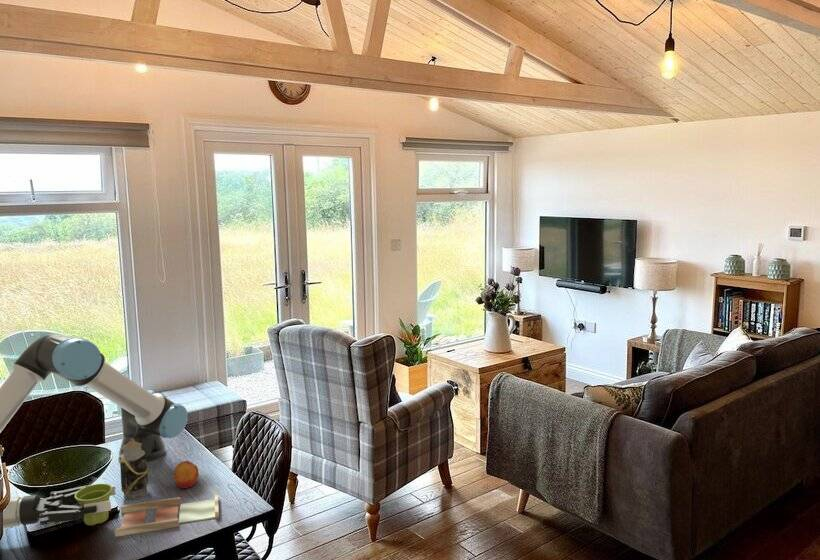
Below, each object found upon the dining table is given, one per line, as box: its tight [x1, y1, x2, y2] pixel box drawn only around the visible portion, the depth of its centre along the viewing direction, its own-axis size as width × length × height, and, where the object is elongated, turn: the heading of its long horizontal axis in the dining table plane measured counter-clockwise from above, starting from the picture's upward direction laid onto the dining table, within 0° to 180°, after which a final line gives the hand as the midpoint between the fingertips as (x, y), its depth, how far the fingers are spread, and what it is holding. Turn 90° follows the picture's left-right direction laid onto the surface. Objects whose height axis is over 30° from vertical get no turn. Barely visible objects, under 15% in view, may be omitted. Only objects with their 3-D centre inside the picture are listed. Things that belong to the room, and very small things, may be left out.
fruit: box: [173, 460, 199, 489], centre depth 200 cm, size 8×8×8 cm
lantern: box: [118, 418, 150, 500], centre depth 193 cm, size 9×8×25 cm
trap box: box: [114, 492, 220, 538], centre depth 182 cm, size 14×28×2 cm, turn 108°
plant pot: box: [75, 483, 112, 526], centre depth 176 cm, size 9×9×9 cm
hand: (112, 497), depth 177 cm, fingers closed on plant pot, 8 cm apart
